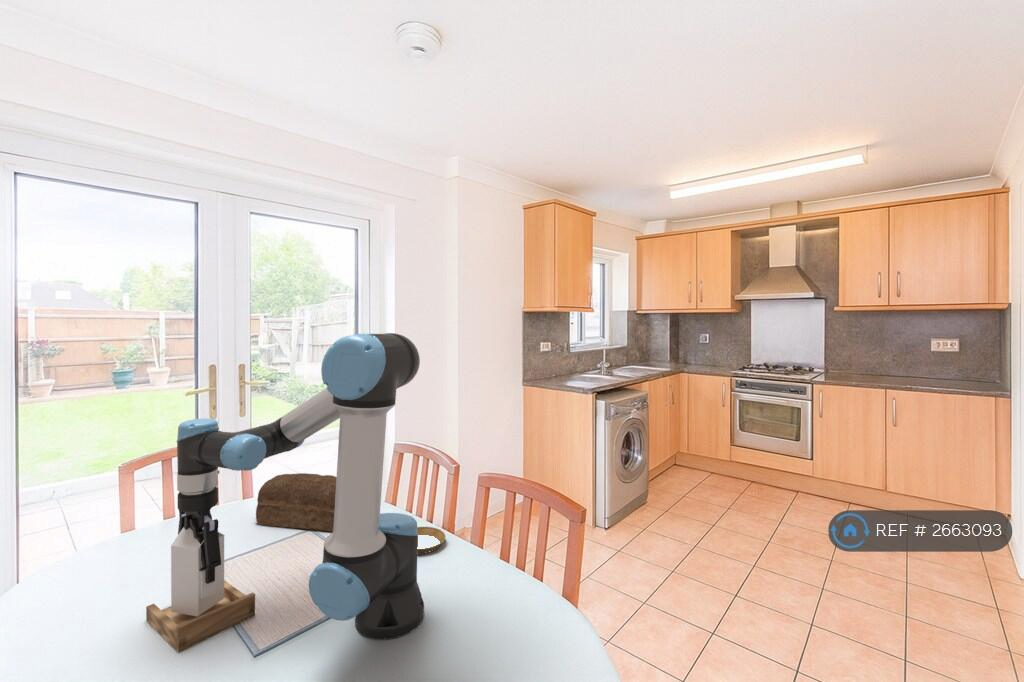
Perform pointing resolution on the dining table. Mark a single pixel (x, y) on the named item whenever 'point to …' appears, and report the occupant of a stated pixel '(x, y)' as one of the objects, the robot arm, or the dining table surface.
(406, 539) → the robot arm
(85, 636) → the dining table surface
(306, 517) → the bread
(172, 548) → the milk carton
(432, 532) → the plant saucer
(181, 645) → the wooden tray
